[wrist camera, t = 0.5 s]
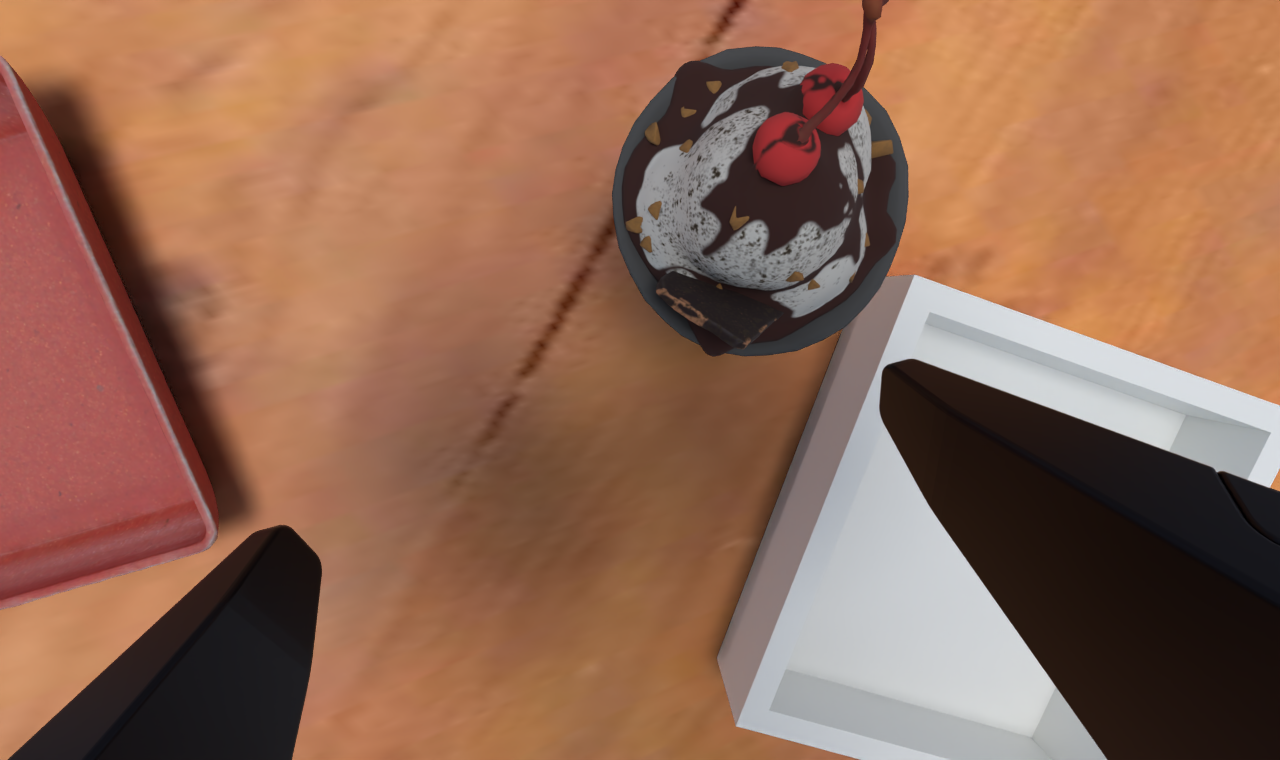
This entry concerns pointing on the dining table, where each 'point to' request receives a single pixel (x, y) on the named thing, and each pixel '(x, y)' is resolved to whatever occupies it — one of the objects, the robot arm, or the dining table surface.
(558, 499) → the dining table surface
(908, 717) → the tray
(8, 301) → the plant saucer
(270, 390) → the dining table surface
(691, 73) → the sundae
